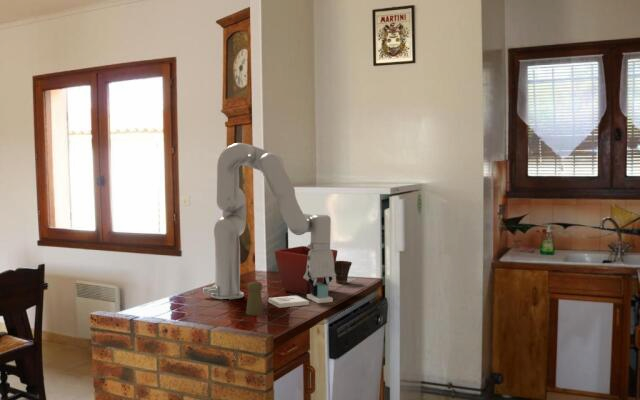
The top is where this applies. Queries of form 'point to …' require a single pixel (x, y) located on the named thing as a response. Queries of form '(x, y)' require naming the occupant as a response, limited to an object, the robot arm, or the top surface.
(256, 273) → the top surface
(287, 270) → the plant pot
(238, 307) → the top surface
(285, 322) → the top surface
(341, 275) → the cup
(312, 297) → the stub
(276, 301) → the white flat slab
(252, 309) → the olive green pepper shaker
